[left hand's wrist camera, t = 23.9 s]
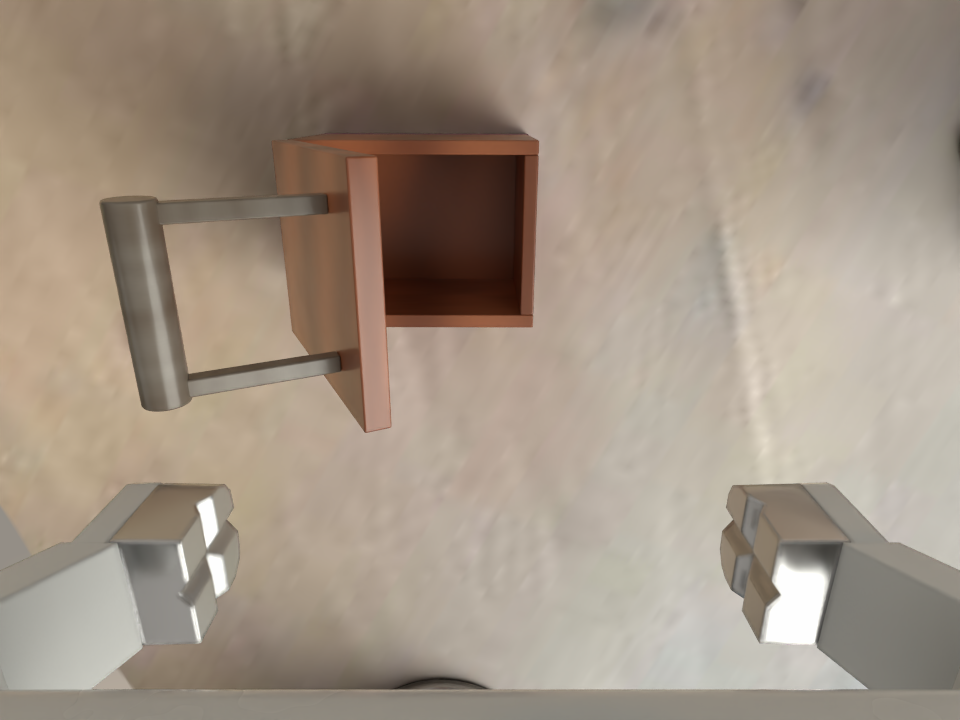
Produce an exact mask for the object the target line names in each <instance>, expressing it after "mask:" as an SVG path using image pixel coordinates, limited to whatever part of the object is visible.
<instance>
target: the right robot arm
mask: <svg viewBox="0 0 960 720" xmlns="http://www.w3.org/2000/svg"><path fill="white" fill-rule="evenodd" d="M395 690H487V689H485V688H482V687H480V686H477V685H474V684H470V683H467V682H462V681H455V680H426V681H420V682H415V683H411V684H408V685H405V686H402V687H400V688H398V689H395Z"/></svg>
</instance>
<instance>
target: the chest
mask: <svg viewBox="0 0 960 720" xmlns="http://www.w3.org/2000/svg"><path fill="white" fill-rule="evenodd" d="M288 140H296V141H301V142H306V143H311V144H317V145H322V146H327V147H333V148H338V149H343V150H348V151H354V152H359V153H364V154H370V155H375V156H377V163H378V182H379V200H380V219H381V238H382V257H383V276H384V295H385V314H386V327H533V302H534V273H535V244H536V215H537V185H538V153H539V141H538V140H536V139H534V138H532V137H530V136H528V134H373V133H325V134H321V135H314V136H307V137H300V138H294V139H288Z"/></svg>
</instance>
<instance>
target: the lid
mask: <svg viewBox="0 0 960 720" xmlns="http://www.w3.org/2000/svg"><path fill="white" fill-rule="evenodd" d="M272 150H273V159H274V168H275V177H276V186H277V195H265V196H246V197H226V198H207V199H187V200H167V201H158V199H157V198H156V197H152V196H122V197H112V198H106V199H103V200H100V202H99V204H100V209H101V214H102V218H103V223H104V228H105V233H106V238H107V242H108V247H109V252H110V257H111V262H112V266H113V271H114V276H115V281H116V286H117V290H118V295H119V300H120V305H121V310H122V314H123V319H124V324H125V329H126V334H127V338H128V343H129V348H130V353H131V358H132V362H133V367H134V372H135V377H136V382H137V386H138V391H139V396H140V401H141V405H142V407H143V408H144V409H145V410H148V411H168V410H173V409H177V408H180V407H182V406H184V405H186V404H188V403H189V402H190V401H191V400H192V397H196V396H202V395H208V394H214V393H219V392H225V391H231V390H237V389H243V388H249V387H254V386H260V385H266V384H272V383H278V382H284V381H290V380H295V379H301V378H307V377H313V376H319V375H324V376H325V377H326V379H327V380H328V382H329V383H330V384H331V386H332V387H333V388H334V390H335V391H336V393H337V394H338V395H339V397H340V398H341V400H342V401H343V402H344V404H345V405H346V407H347V408H348V409H349V411H350V412H351V414H352V415H353V416H354V418H355V419H356V421H357V422H358V423H359V425H360V426H361V428H362V429H363V430H364V432H365V433H368V432H372V431H377V430H381V429H386V428H390V427H391V409H390V390H389V371H388V352H387V333H386V314H385V295H384V276H383V257H382V238H381V219H380V200H379V182H378V163H377V156H375V155H370V154H364V153H359V152H354V151H348V150H343V149H338V148H333V147H327V146H322V145H317V144H311V143H306V142H301V141H296V140H272ZM275 217H280V223H281V232H282V241H283V251H284V260H285V269H286V278H287V287H288V296H289V306H290V315H291V324H292V331H293V333H294V334H295V335H296V337H297V338H298V340H299V341H300V342H301V344H302V345H303V347H304V348H305V349H306V351H307V352H308V354H309V355H307V356H301V357H294V358H288V359H281V360H275V361H269V362H262V363H256V364H250V365H243V366H237V367H230V368H224V369H218V370H211V371H205V372H199V373H192V374H188V368H187V362H186V357H185V351H184V345H183V340H182V334H181V328H180V322H179V317H178V311H177V305H176V300H175V294H174V288H173V283H172V277H171V271H170V266H169V260H168V254H167V248H166V243H165V237H164V231H163V226H162V225H168V224H183V223H198V222H213V221H229V220H244V219H259V218H275Z"/></svg>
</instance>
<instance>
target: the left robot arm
mask: <svg viewBox="0 0 960 720" xmlns="http://www.w3.org/2000/svg"><path fill="white" fill-rule="evenodd" d="M233 508H234V506H233V501H232V496H231V491H230V489H229V488H228V487H227V486H226V485H225V484H186V483H164V484H163V483H133V484H128V485H126V486H125V487H124V488H123V489H122V490H121V491H120V492H119V493H118V494H117V495H116V496H115V497H114V498H113V499H112V501H111V502H110V503H109V504H108V505H107V506H106V507H105V508H104V509H103V510H102V511H101V512H100V513H99V514H98V515H97V516H96V517H95V518H94V519H93V520H92V521H91V522H90V523H89V524H88V525H87V527H86V528H85V529H84V530H83V531H82V532H81V533H80V534H79V535H78V536H77V537H76V538H75V539H74V540H73V541H72V542H71V543H59V544H57V545H55V546H52V547H50V548H48V549H46V550H44V551H42V552H39V553H37V554H35V555H33V556H31V557H28V558H26V559H24V560H22V561H20V562H18V563H15V564H13V565H11V566H9V567H7V568H5V569H2V570H0V720H960V570H958V569H955V568H953V567H951V566H949V565H947V564H944V563H942V562H940V561H938V560H936V559H934V558H931V557H929V556H927V555H925V554H923V553H921V552H918V551H916V550H914V549H912V548H910V547H908V546H905V545H903V544H901V543H889V542H888V541H887V540H886V539H885V538H884V537H883V536H882V535H881V534H880V533H879V532H878V531H877V530H876V529H875V528H874V526H873V525H872V524H871V523H870V522H869V521H868V520H867V519H866V518H865V517H864V516H863V515H862V514H861V513H860V512H859V511H858V510H857V509H856V508H855V507H854V506H853V505H852V504H851V502H850V501H849V500H848V499H847V498H846V497H845V496H844V495H843V494H842V493H841V492H840V491H839V490H838V489H837V488H836V487H835V486H834V485H831V484H829V483H827V482H824V483H797V484H764V485H733V486H732V488H731V490H730V492H729V494H728V500H727V505H726V508H727V510H728V512H729V513H730V515H731V516H732V518H733V521H732V522H731V523H730V524H729V525H728V526H727V527H726V528H725V529H724V530H723V531H722V537H721V545H720V554H721V565H722V569H723V572H724V576H725V579H726V581H727V583H728V585H729V587H730V589H731V590H732V591H734V592H735V593H736V594H738V595H739V596H741V597H742V598H744V602H743V608H742V612H743V613H744V615H745V617H746V619H747V621H748V623H749V625H750V627H751V628H752V630H753V632H754V634H755V636H756V638H757V640H758V641H759V643H760V644H796V645H818V646H817V648H818V649H819V650H821V651H822V652H823V653H824V654H826V655H827V656H828V657H829V658H831V659H832V660H833V661H834V662H836V663H837V664H838V665H839V666H841V667H842V668H843V669H844V670H846V671H847V672H848V673H849V674H851V675H852V676H853V677H854V678H856V679H857V680H858V681H859V682H861V683H862V684H863V685H864V686H866V687H867V688H868V689H573V690H278V689H92V688H93V687H95V686H96V685H97V684H98V683H100V682H101V681H102V680H103V679H105V678H106V677H107V676H108V675H110V674H111V673H112V672H113V671H115V670H116V669H117V668H118V667H120V666H121V665H122V664H123V663H125V662H126V661H127V660H128V659H130V658H131V657H132V656H133V655H135V654H136V653H137V652H138V651H140V650H141V649H142V648H143V646H142V645H164V644H199V643H201V642H202V640H203V638H204V636H205V634H206V632H207V630H208V628H209V627H210V625H211V623H212V621H213V619H214V617H215V615H216V613H217V612H218V608H217V602H216V598H218V597H219V596H221V595H222V594H224V593H225V592H226V591H228V590H229V589H230V587H231V585H232V583H233V581H234V579H235V577H236V572H237V568H238V563H239V559H240V543H239V536H238V531H237V530H236V529H235V528H234V527H233V526H232V525H231V524H230V523H229V522H228V521H227V518H228V517H229V515H230V513H231V512H232V510H233Z"/></svg>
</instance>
